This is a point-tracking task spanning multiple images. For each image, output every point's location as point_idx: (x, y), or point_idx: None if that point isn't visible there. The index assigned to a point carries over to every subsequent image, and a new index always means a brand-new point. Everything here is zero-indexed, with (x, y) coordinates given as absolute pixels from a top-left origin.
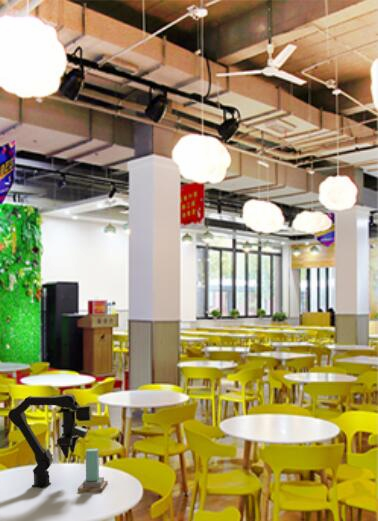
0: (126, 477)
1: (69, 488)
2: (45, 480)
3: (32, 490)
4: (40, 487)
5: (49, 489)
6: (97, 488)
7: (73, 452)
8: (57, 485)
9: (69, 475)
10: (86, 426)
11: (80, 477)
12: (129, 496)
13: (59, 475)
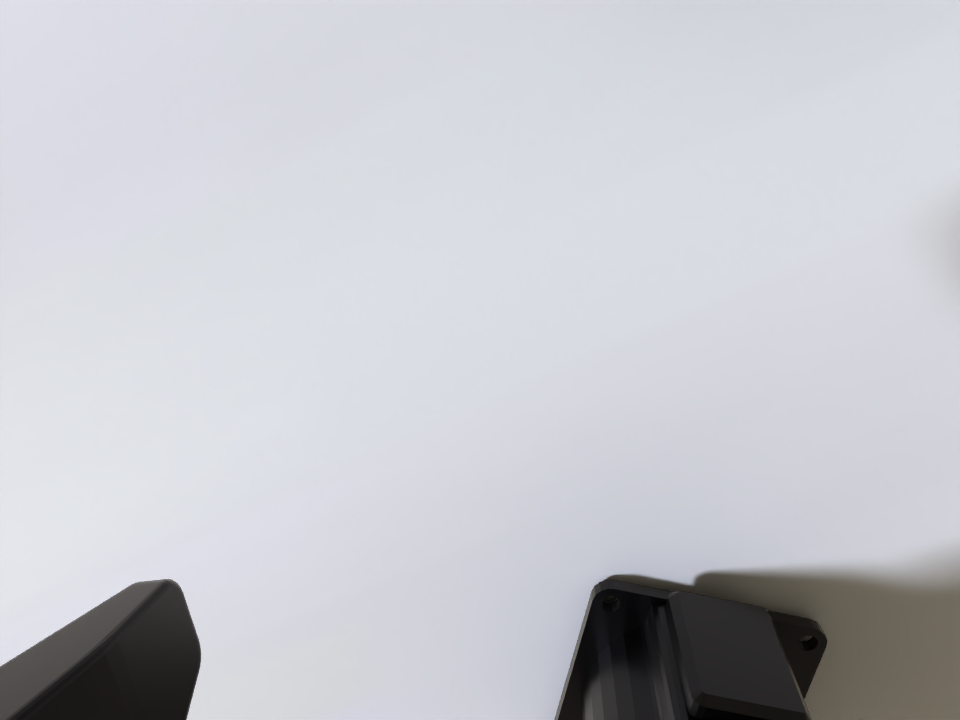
0: None
1: (834, 144)
2: (790, 671)
3: (933, 710)
4: (813, 655)
5: (889, 486)
6: None
7: (174, 585)
8: (661, 447)
9: (88, 480)
10: None
11: (136, 231)
12: None
13: None
